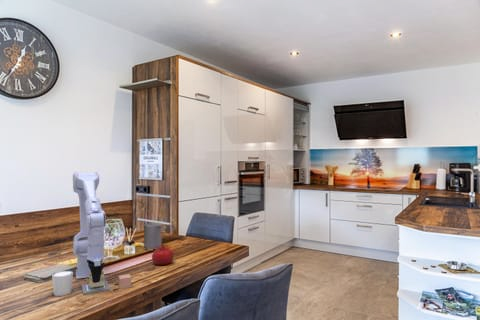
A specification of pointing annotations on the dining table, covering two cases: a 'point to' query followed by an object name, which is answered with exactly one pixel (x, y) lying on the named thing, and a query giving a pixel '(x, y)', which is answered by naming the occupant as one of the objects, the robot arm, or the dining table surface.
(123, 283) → the top block
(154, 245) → the pillar candle
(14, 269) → the dining table surface
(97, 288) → the base plate
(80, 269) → the robot arm
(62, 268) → the washcloth
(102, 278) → the base block
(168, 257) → the pomegranate
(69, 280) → the grey cylinder
